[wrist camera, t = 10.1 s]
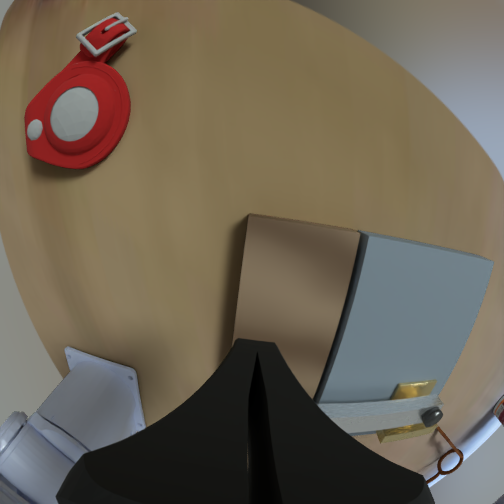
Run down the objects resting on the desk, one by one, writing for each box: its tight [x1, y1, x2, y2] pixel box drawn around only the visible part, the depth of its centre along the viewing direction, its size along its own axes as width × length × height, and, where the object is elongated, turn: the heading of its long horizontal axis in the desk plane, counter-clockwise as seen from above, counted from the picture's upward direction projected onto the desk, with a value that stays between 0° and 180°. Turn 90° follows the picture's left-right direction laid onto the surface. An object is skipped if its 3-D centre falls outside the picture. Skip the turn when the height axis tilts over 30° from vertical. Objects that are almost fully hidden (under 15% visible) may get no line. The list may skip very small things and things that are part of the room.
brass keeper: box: [376, 379, 438, 443], centre depth 17 cm, size 4×6×3 cm
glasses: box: [426, 426, 463, 484], centre depth 22 cm, size 13×13×5 cm
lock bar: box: [317, 394, 444, 433], centre depth 16 cm, size 15×3×2 cm, turn 83°
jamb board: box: [232, 213, 360, 400], centre depth 18 cm, size 18×7×3 cm, turn 172°
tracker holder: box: [24, 12, 137, 169], centre depth 14 cm, size 12×4×10 cm
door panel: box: [313, 230, 494, 436], centre depth 18 cm, size 18×13×2 cm
